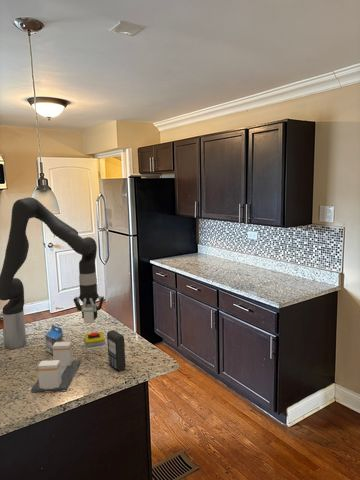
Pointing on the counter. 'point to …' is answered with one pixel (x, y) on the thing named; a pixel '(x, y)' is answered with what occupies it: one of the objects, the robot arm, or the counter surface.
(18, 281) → the robot arm
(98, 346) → the emergency button
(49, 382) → the mounted modules
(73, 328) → the counter surface
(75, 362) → the rail plate
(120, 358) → the black card payment terminal
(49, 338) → the label tape cartridge
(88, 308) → the block
